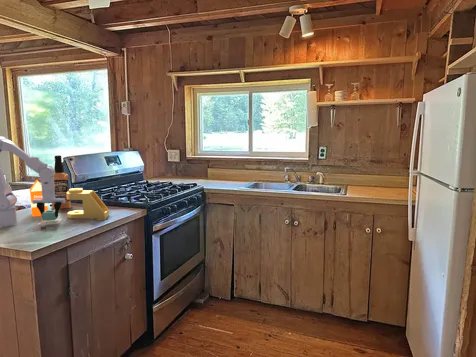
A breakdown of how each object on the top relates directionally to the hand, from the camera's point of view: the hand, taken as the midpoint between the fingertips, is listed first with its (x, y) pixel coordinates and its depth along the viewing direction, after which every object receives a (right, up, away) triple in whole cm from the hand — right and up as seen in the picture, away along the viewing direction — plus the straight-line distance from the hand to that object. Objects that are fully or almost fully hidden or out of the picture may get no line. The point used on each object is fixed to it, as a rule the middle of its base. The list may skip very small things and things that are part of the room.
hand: (50, 217), depth 171 cm
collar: (0, -1, 0) cm, 1 cm away
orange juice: (-15, -1, +17) cm, 23 cm away
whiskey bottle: (-14, +1, +38) cm, 40 cm away
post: (+3, -4, -10) cm, 11 cm away
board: (+1, -4, -5) cm, 7 cm away
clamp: (+13, -2, +13) cm, 19 cm away
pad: (0, -3, 0) cm, 3 cm away
